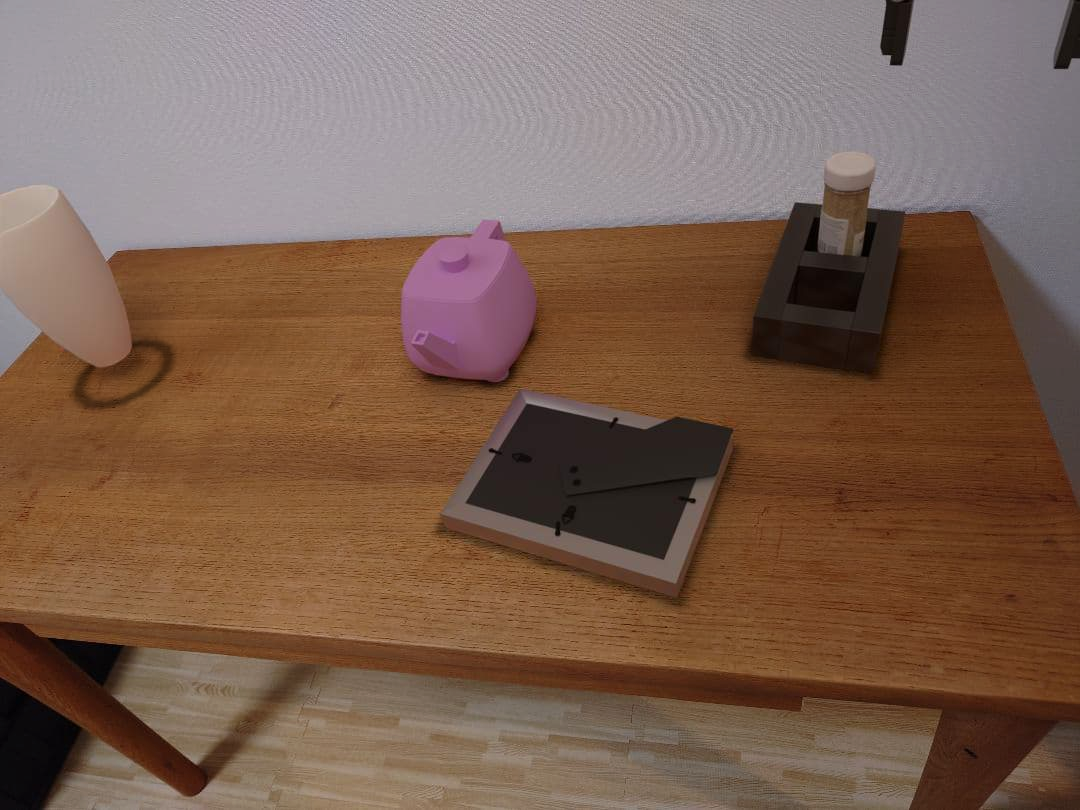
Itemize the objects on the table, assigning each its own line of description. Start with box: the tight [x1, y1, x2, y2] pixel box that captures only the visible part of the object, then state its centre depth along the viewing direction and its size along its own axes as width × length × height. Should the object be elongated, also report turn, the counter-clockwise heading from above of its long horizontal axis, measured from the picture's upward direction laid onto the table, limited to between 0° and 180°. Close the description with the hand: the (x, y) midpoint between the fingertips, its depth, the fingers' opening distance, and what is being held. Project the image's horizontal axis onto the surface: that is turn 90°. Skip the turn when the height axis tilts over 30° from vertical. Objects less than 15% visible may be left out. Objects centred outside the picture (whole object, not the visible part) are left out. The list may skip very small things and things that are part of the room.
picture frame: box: [439, 388, 734, 599], centre depth 69 cm, size 16×3×21 cm
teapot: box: [400, 219, 538, 383], centre depth 81 cm, size 20×12×13 cm, turn 161°
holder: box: [751, 201, 907, 375], centre depth 81 cm, size 11×20×5 cm, turn 157°
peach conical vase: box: [0, 184, 133, 368], centre depth 85 cm, size 10×10×22 cm
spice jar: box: [817, 150, 877, 257], centre depth 80 cm, size 5×5×14 cm
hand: (976, 62), depth 47 cm, fingers open, 8 cm apart
